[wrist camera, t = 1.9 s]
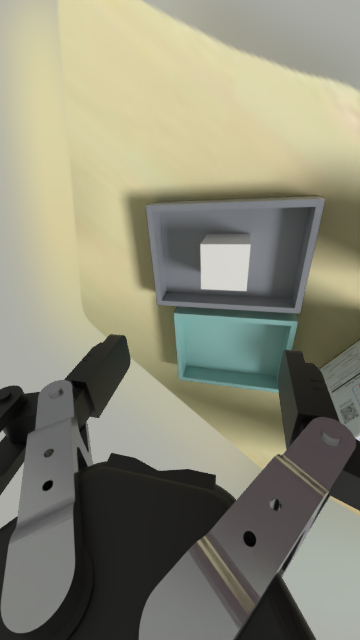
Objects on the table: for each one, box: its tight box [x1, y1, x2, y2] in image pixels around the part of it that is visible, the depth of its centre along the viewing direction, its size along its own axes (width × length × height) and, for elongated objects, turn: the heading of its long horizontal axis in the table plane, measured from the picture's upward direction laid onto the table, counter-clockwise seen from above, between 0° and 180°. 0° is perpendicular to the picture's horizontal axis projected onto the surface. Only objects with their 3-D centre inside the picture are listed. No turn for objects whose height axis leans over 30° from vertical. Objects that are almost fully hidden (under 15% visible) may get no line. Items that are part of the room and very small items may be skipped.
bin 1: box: [146, 196, 325, 314], centre depth 26 cm, size 16×11×3 cm
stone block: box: [200, 234, 251, 291], centre depth 25 cm, size 4×4×4 cm
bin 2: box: [174, 306, 298, 393], centre depth 32 cm, size 14×11×3 cm
